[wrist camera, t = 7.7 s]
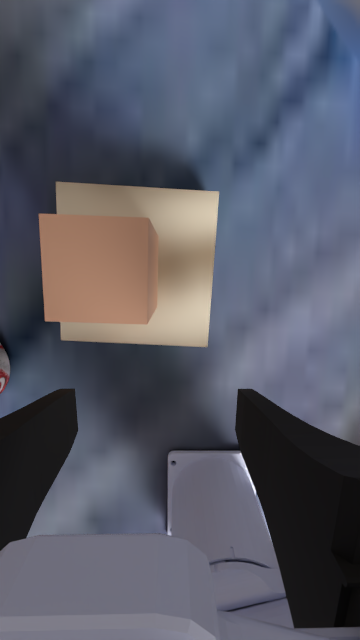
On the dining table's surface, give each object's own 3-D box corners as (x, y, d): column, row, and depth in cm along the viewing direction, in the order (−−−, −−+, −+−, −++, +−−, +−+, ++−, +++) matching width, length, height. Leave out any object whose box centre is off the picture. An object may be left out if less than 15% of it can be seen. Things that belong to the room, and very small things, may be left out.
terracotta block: (157, 306, 18) (147, 324, 12) (89, 304, 18) (44, 321, 12) (158, 236, 17) (148, 217, 11) (87, 233, 17) (38, 213, 11)
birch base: (201, 333, 22) (207, 347, 18) (81, 327, 22) (61, 340, 18) (210, 206, 20) (219, 191, 16) (79, 198, 20) (55, 181, 16)
